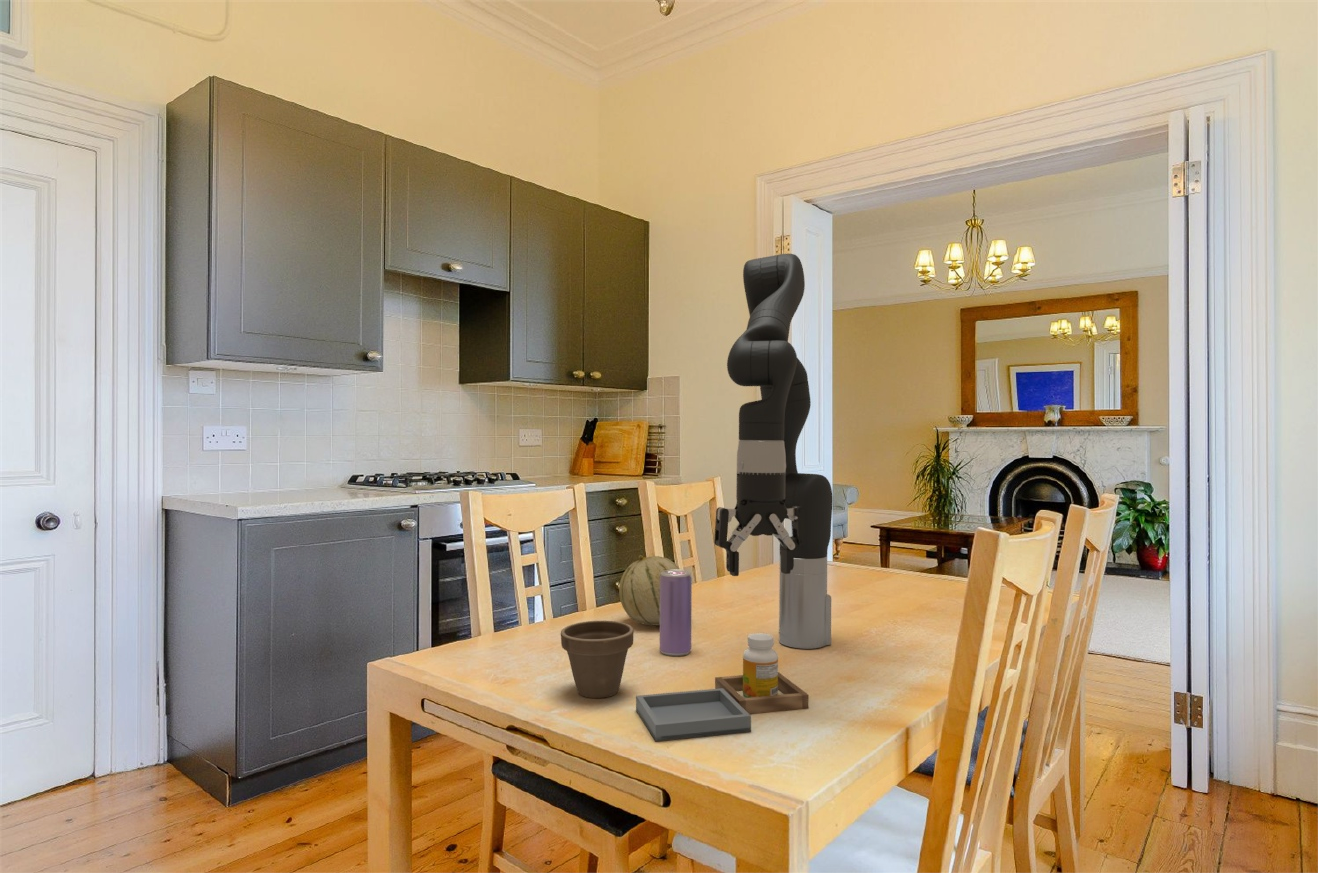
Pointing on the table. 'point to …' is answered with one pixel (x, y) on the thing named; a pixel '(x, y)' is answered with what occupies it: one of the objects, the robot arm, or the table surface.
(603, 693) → the flower pot
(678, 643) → the beverage can
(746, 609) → the table surface
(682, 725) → the tray
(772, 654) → the supplement bottle
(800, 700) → the brown wooden square frame
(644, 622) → the cantaloupe
